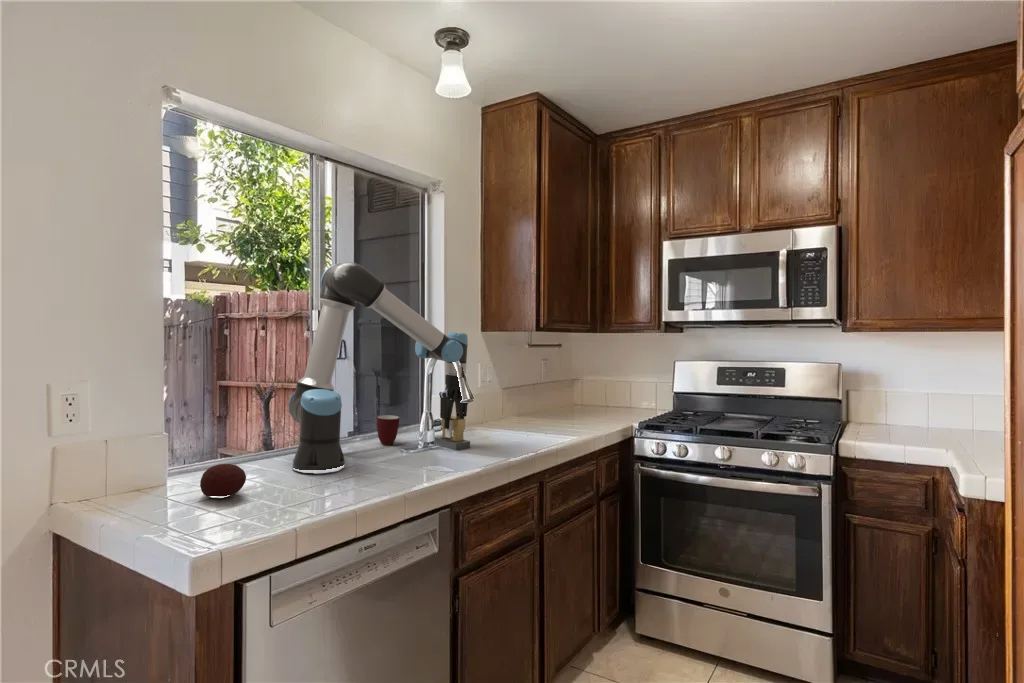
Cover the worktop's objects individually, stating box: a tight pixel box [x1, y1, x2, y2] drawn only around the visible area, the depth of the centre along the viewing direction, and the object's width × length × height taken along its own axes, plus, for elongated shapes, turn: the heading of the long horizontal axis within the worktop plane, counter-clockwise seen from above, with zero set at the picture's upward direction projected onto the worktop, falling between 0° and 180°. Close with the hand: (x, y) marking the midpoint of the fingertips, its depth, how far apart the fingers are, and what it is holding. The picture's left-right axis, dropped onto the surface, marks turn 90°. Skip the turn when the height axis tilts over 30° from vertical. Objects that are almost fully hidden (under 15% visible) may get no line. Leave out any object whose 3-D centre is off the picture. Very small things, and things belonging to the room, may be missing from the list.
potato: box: [199, 463, 247, 497], centre depth 147 cm, size 12×11×8 cm
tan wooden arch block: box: [440, 415, 466, 442], centre depth 216 cm, size 4×9×10 cm, turn 48°
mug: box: [376, 414, 400, 446], centre depth 214 cm, size 11×8×10 cm
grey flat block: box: [434, 435, 471, 451], centre depth 216 cm, size 7×12×2 cm, turn 48°
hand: (452, 436), depth 216 cm, fingers open, 4 cm apart
